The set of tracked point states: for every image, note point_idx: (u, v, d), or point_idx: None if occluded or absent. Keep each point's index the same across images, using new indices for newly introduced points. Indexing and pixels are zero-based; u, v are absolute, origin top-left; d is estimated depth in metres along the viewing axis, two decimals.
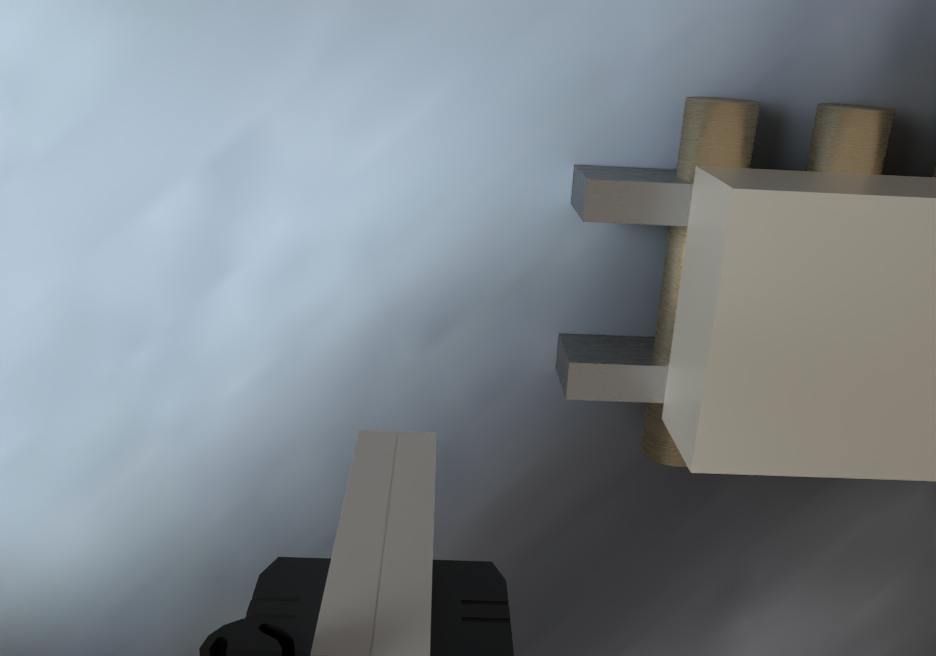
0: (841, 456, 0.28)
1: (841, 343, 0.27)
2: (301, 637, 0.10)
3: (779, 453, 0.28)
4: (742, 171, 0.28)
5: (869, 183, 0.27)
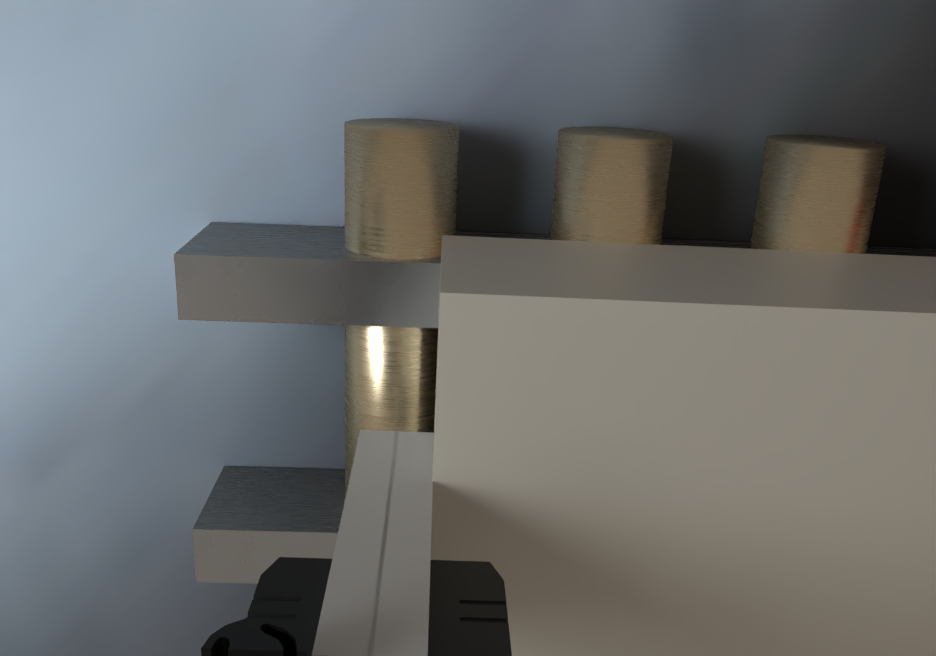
0: None
1: (652, 542, 0.16)
2: (303, 637, 0.10)
3: None
4: (508, 246, 0.18)
5: (705, 270, 0.17)
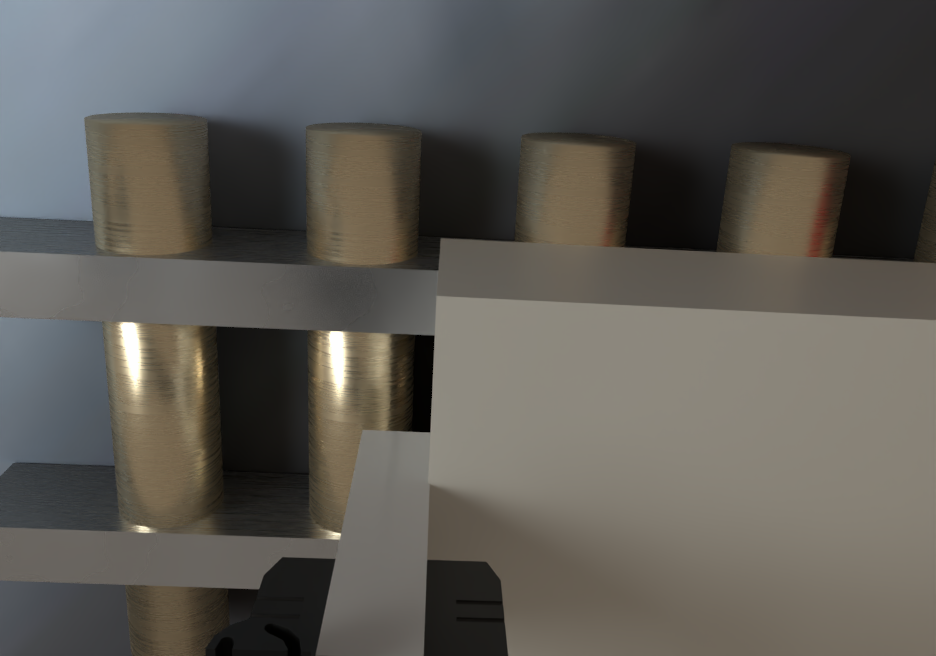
0: None
1: (649, 549, 0.16)
2: (306, 637, 0.10)
3: None
4: (507, 250, 0.17)
5: (704, 275, 0.16)
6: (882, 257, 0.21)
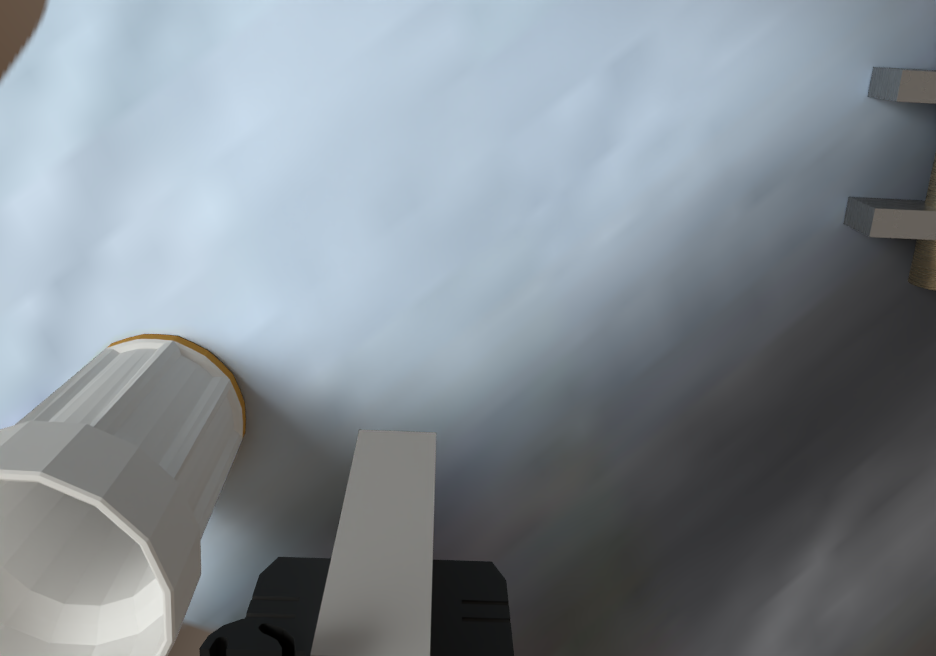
0: None
1: None
2: (301, 637, 0.10)
3: None
4: None
5: None
6: None
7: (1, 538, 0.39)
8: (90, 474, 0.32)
